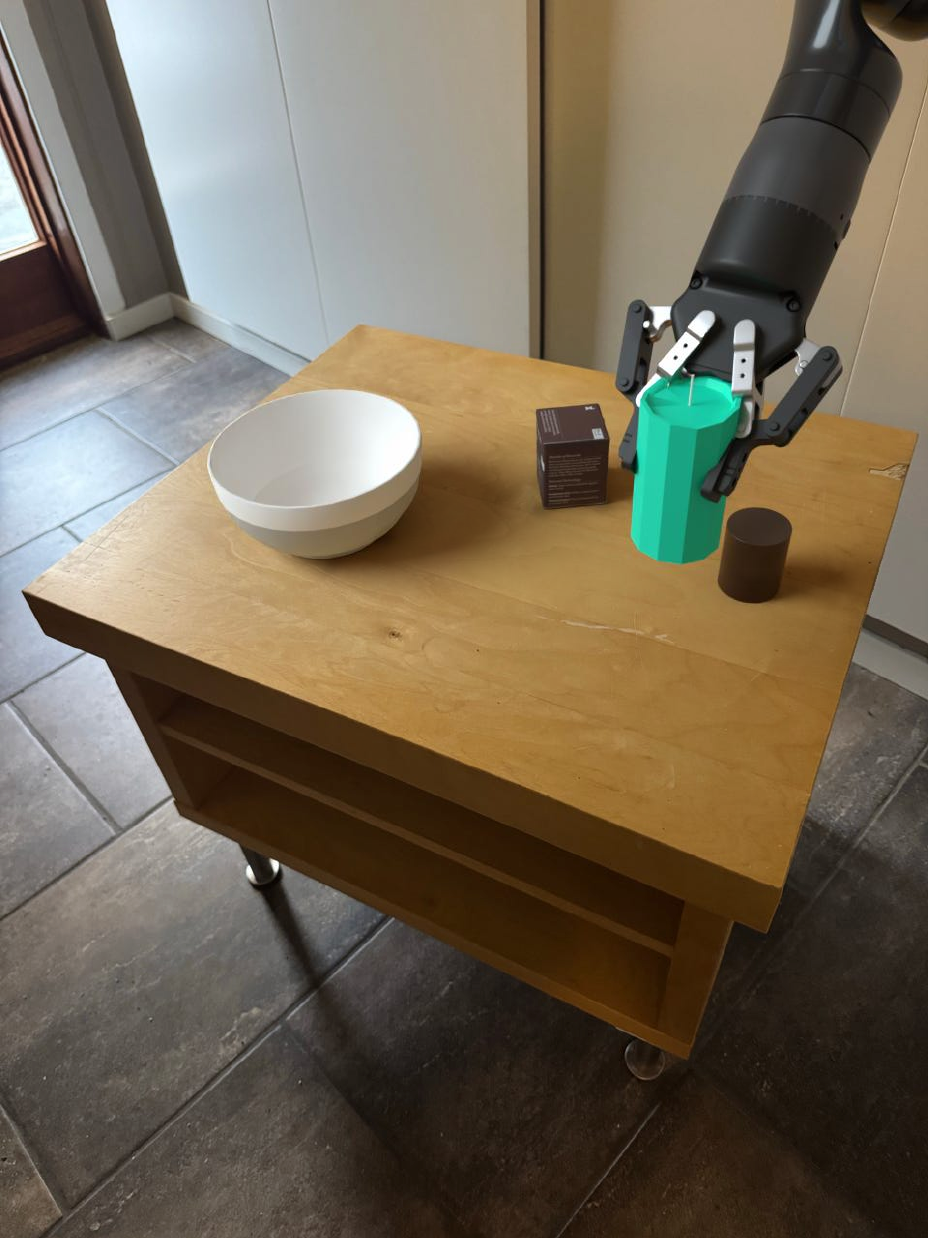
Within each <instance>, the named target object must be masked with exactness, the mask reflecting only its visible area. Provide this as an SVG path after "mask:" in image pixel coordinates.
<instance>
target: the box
mask: <svg viewBox="0 0 928 1238" xmlns="http://www.w3.org/2000/svg"><path fill="white" fill-rule="evenodd" d="M535 426H536V427H535V428H536V429H535V431H536V433H535V434H536V443H535V445H536V477H537V482H538V483H537V484H538V489H539V494H540V498H541V502H542V507H543V508H544V509H546V510H549V509H550V510H551V509H560V508H568V507H577V506H578V507H579V506H591V505H603V504H606V503H607V496H608V495H607V493H608V491H607V490H608V477H609V475H608V474H609V459H610V442H611V438H610V435H609V431H608V429H607V425H606V420H605V417H604V416H603V412H602V408H601V405H600V404H599V403H595V402H594V403H586V404H578V405H577V404H575V405H567V406H556V407H555V406H554V407H542V408H536V409H535Z"/></svg>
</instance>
